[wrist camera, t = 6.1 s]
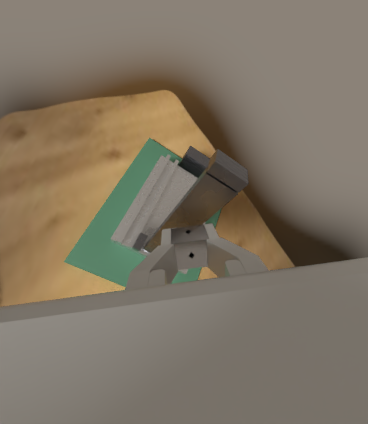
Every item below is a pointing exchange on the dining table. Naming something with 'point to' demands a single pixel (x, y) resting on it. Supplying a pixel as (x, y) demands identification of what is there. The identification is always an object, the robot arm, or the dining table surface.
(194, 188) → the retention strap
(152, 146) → the circuit board
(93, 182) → the dining table surface
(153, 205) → the heat sink
